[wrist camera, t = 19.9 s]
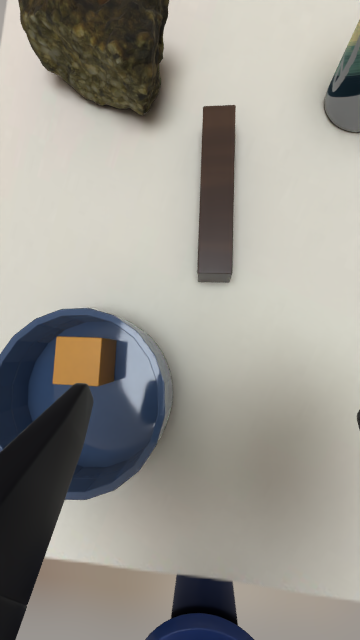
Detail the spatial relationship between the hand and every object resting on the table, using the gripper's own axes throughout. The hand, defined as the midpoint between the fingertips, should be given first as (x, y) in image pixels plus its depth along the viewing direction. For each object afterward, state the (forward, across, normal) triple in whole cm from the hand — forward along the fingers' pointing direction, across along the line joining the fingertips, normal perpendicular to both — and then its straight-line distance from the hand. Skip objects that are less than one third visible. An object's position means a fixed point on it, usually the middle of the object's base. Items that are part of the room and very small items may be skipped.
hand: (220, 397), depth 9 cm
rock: (+29, +10, -9) cm, 32 cm away
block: (+10, +10, +9) cm, 16 cm away
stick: (+14, 0, +3) cm, 14 cm away
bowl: (+8, +9, +11) cm, 17 cm away
